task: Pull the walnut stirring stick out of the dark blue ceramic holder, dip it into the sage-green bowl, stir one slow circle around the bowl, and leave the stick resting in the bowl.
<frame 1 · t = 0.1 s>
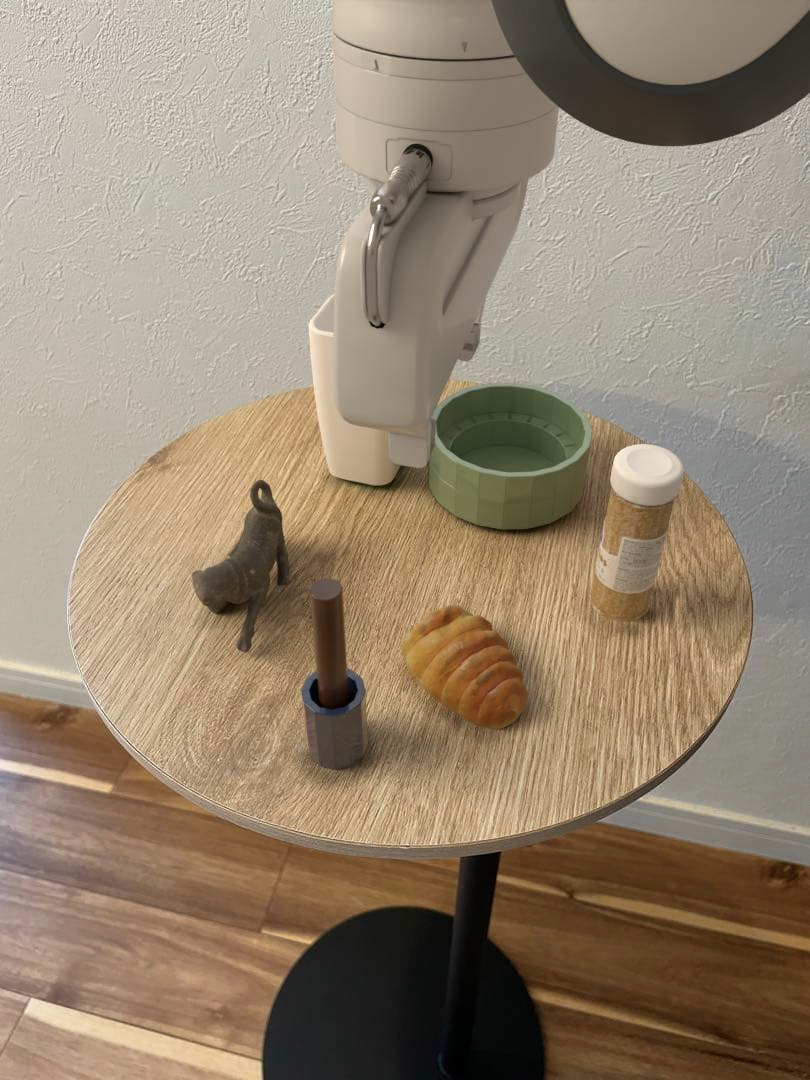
hand: (437, 401, 47), 25 cm above the table, tool pointing down, fingers open, 8 cm apart
pastry: (465, 678, 67), on the table
dog figurine: (245, 601, 73), on the table
tan spice jar: (618, 607, 72), on the table
bowl: (505, 484, 83), on the table
stick: (337, 744, 62), point 1 cm above the table, touching holder
cup: (367, 469, 85), on the table
holder: (337, 749, 62), on the table
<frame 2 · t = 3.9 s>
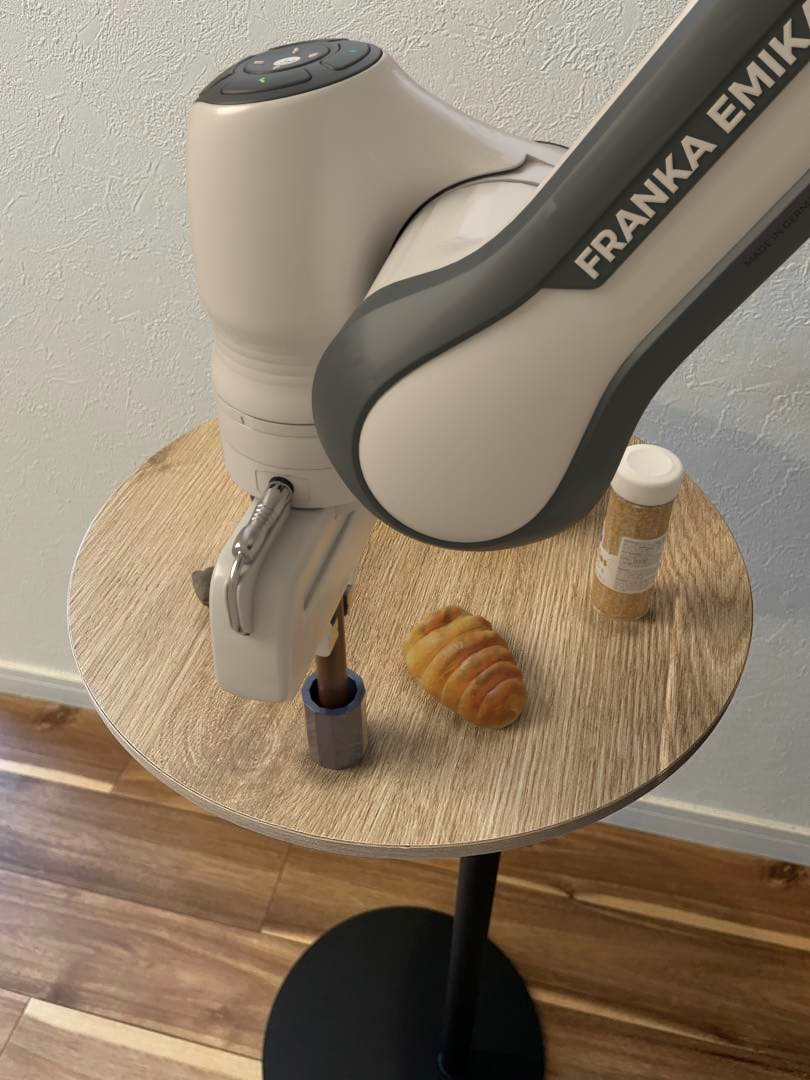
hand: (329, 625, 55), 12 cm above the table, tool pointing down, fingers closed on stick, 2 cm apart
stick: (337, 744, 62), point 1 cm above the table, touching gripper, holder
everything else where it was.
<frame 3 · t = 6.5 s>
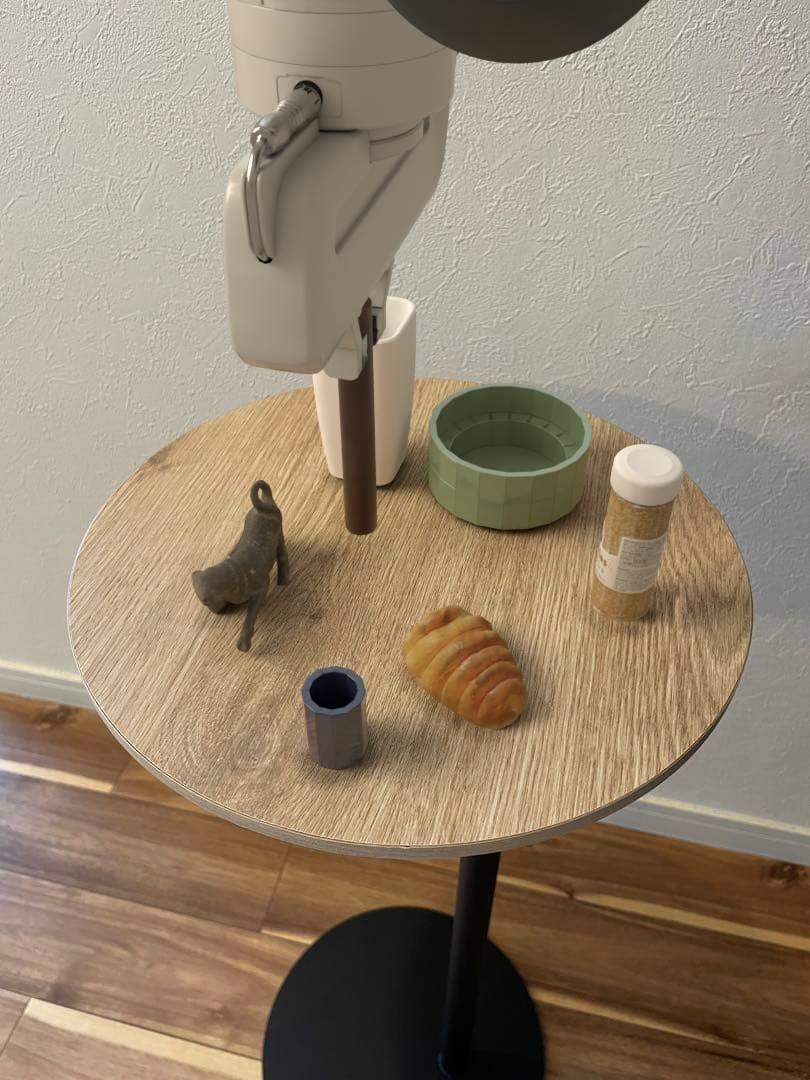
hand: (356, 354, 48), 27 cm above the table, tool pointing down, fingers closed on stick
stick: (361, 525, 55), point 16 cm above the table, touching gripper
everything else where it was.
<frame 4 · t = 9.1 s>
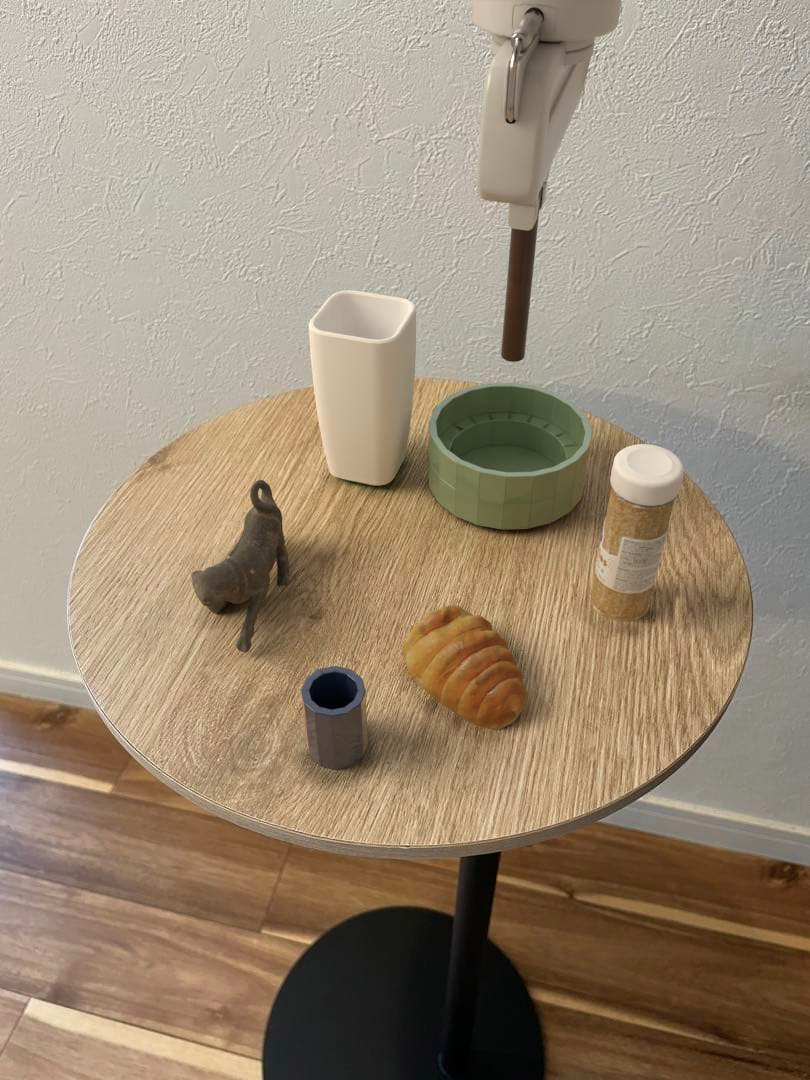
hand: (526, 216, 67), 24 cm above the table, tool pointing down, fingers closed on stick
stick: (512, 356, 74), point 13 cm above the table, touching gripper
everything else where it was.
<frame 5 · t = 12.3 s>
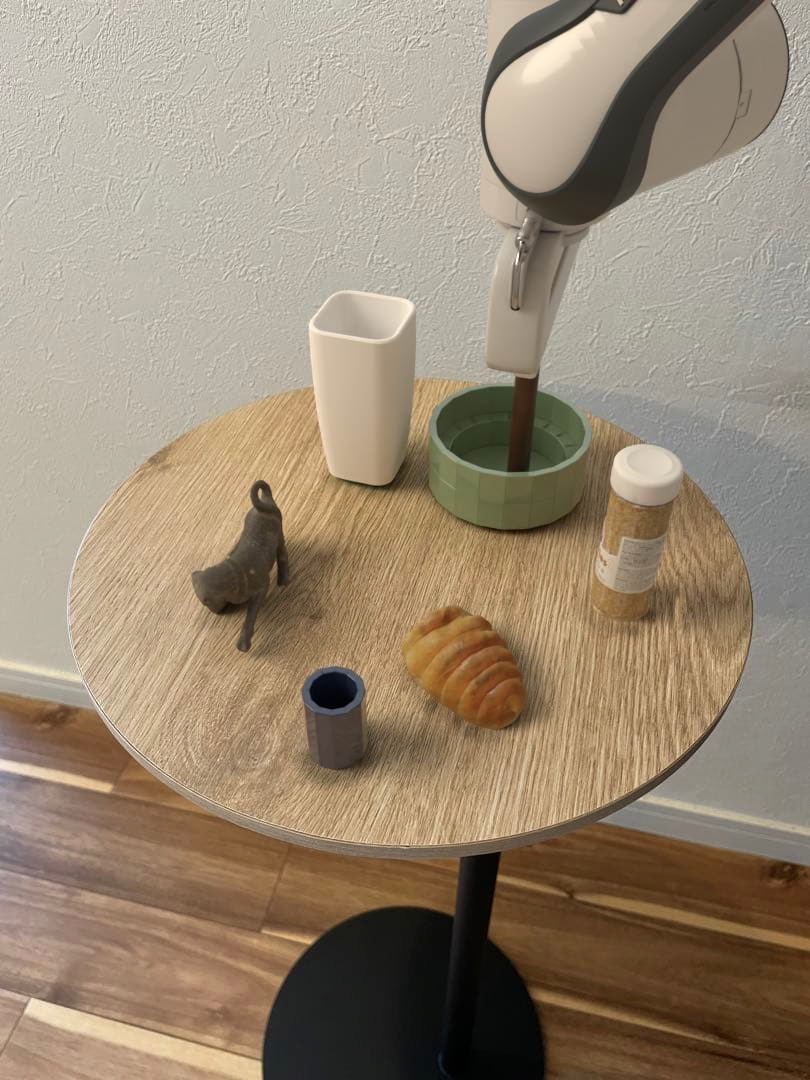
hand: (529, 362, 73), 13 cm above the table, tool pointing down, fingers closed on stick, 2 cm apart
stick: (517, 478, 80), point 2 cm above the table, touching gripper
everything else where it was.
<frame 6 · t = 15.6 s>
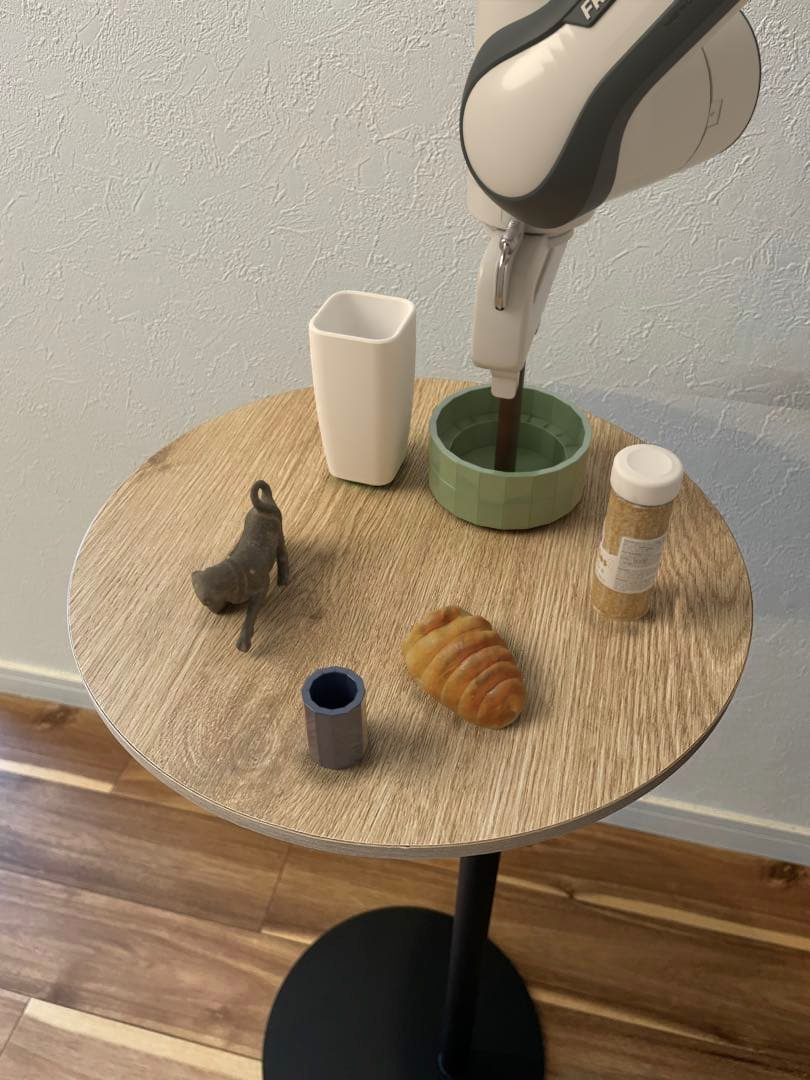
hand: (516, 360, 75), 12 cm above the table, tool pointing down, fingers open, 8 cm apart
stick: (503, 478, 83), point 1 cm above the table, touching bowl
everything else where it was.
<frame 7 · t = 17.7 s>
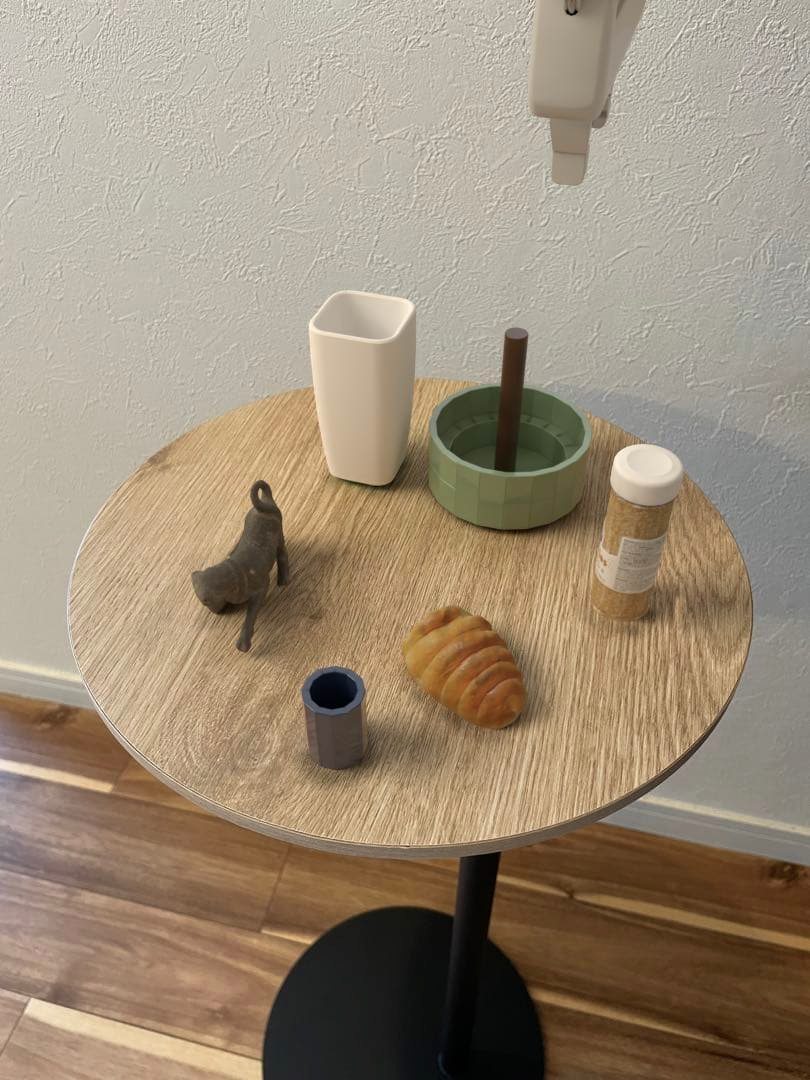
hand: (581, 150, 57), 31 cm above the table, tool pointing down, fingers open, 8 cm apart
nothing on the table moved.
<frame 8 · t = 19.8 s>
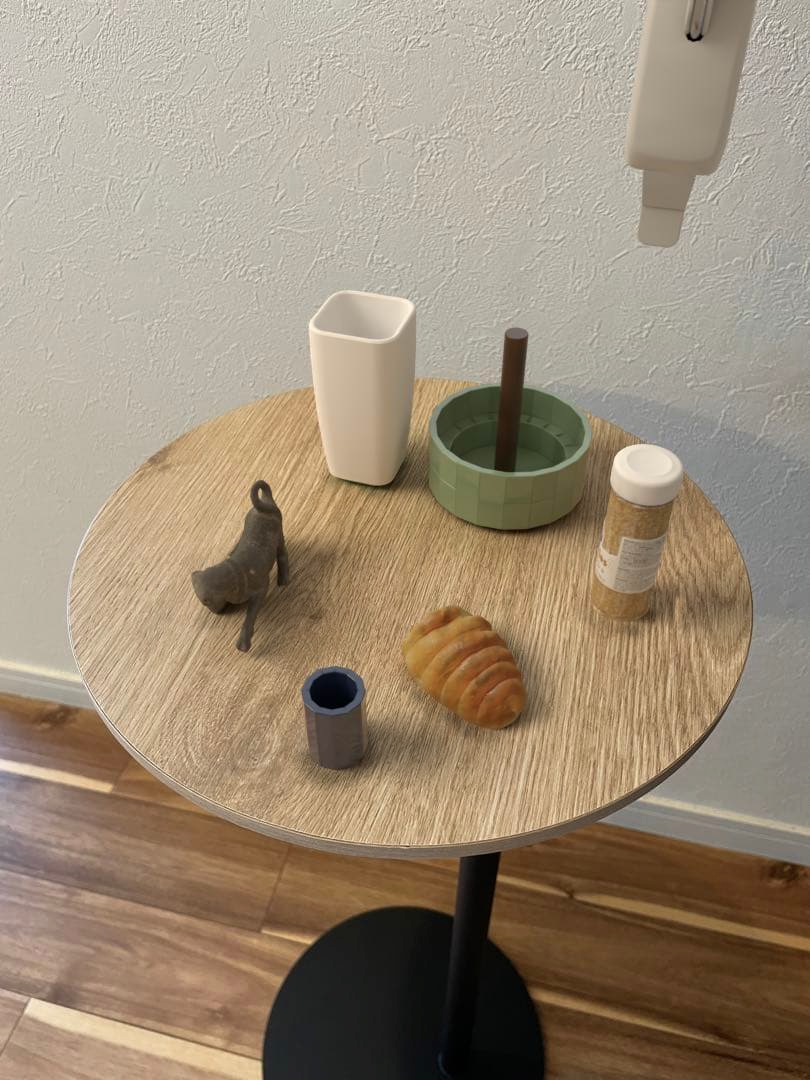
hand: (665, 198, 46), 33 cm above the table, tool pointing down, fingers open, 8 cm apart
nothing on the table moved.
at the end: stick inside the target area in the bowl (0.1 cm from its centre), point 0.6 cm above the bowl's base; stick moved 30.4 cm from its start; the gripper is holding nothing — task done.
